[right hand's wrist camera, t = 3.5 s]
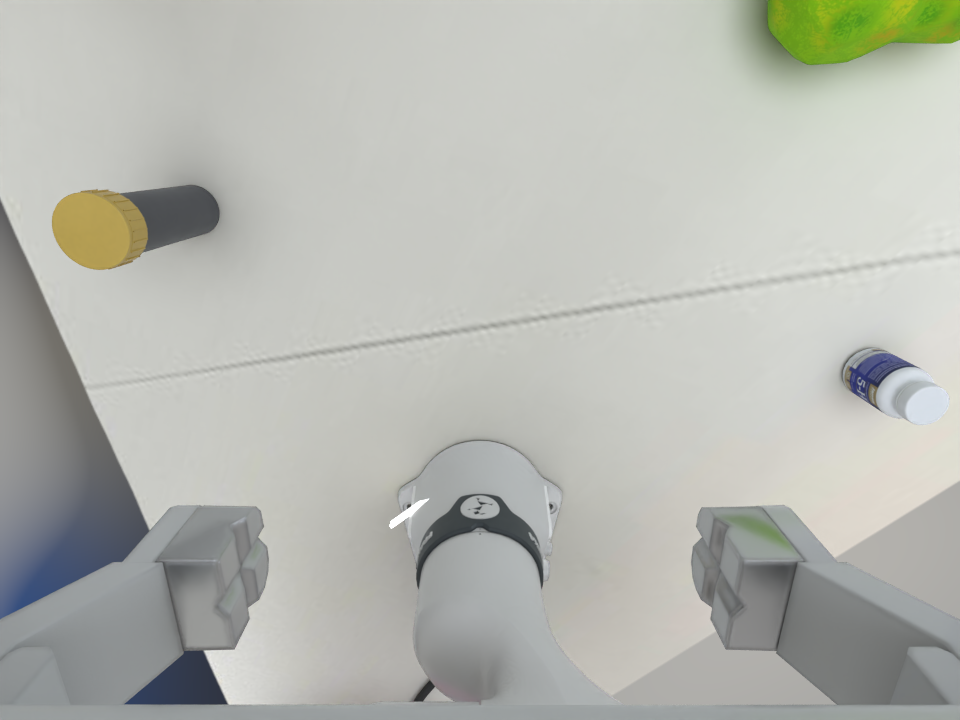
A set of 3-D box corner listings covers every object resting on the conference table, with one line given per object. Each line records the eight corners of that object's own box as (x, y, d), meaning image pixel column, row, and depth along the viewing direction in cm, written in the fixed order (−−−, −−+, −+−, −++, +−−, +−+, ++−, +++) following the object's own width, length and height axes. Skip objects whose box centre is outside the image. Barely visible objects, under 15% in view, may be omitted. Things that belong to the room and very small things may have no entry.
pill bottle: (831, 369, 61) (887, 404, 52) (875, 337, 60) (939, 367, 51) (857, 402, 62) (915, 441, 54) (901, 371, 61) (967, 407, 53)
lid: (147, 195, 42) (128, 198, 40) (150, 269, 44) (132, 276, 42) (70, 183, 42) (46, 185, 39) (76, 258, 44) (54, 264, 41)
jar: (219, 189, 55) (126, 203, 40) (219, 237, 56) (129, 267, 42) (170, 181, 54) (58, 192, 40) (171, 230, 56) (64, 258, 42)
